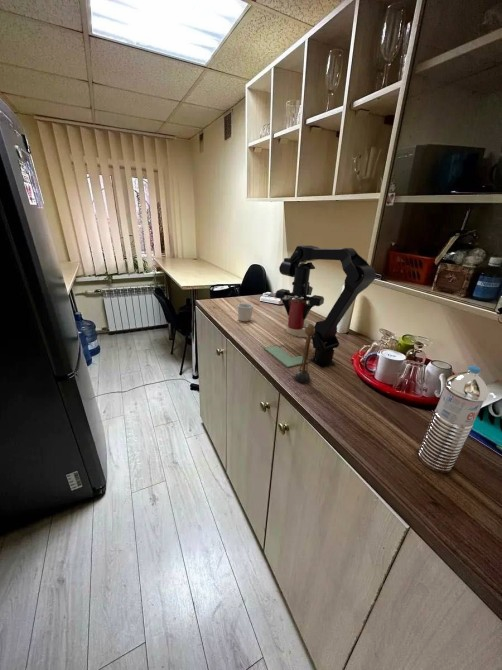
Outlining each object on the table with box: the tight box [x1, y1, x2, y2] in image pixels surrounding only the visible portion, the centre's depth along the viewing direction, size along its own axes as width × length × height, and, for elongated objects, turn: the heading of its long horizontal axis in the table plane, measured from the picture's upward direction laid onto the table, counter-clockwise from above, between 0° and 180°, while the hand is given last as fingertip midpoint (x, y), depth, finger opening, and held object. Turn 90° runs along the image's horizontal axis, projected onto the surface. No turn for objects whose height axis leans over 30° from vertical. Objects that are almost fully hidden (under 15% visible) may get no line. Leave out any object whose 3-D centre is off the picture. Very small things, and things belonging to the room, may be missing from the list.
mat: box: [264, 345, 310, 368], centre depth 107 cm, size 16×10×1 cm, turn 29°
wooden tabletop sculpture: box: [294, 324, 315, 384], centre depth 89 cm, size 6×5×20 cm
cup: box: [237, 302, 254, 322], centre depth 141 cm, size 11×8×8 cm
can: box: [286, 298, 308, 330], centre depth 111 cm, size 7×7×11 cm
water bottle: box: [417, 364, 489, 474], centre depth 58 cm, size 7×7×25 cm
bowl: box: [285, 318, 316, 338], centre depth 130 cm, size 14×14×4 cm
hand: (296, 317), depth 111 cm, fingers closed on can, 6 cm apart
